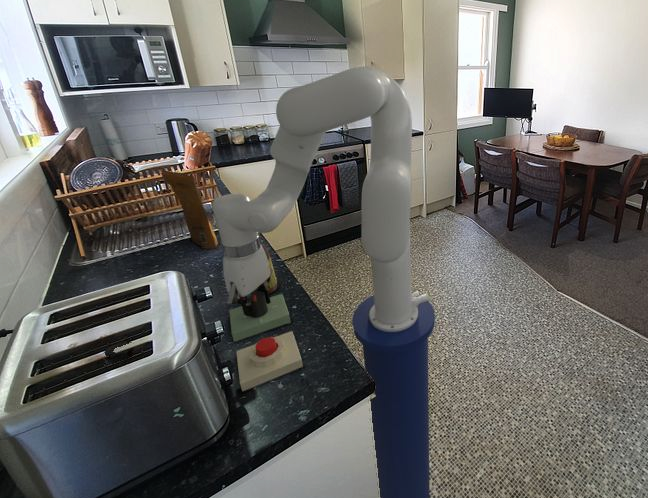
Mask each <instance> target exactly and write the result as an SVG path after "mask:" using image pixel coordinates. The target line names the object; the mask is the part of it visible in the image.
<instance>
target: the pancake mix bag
mask: <svg viewBox="0 0 648 498" xmlns="http://www.w3.org/2000/svg"><path fill="white" fill-rule="evenodd" d="M160 174H161V178H163V180H164V181H165V182H166V183H167V184H168V186H169V187H170V189H171V190H172V192H173V193H174V195H175V197H176V198H177V200H178V202H179V204H180V206H181V208H182V209H181V210H182V213H183V216H184V220H185V223H186V226H187V229H188V232H189V235H190V238H191V241H192V243H194V244H196V245H198V246H199V247H201V248H203V249H204V250H212V249H217V248H218V247H217V246H218V245H219V242H218V239H217V236H216V234H215V231H214V228H213V227H212V222H211V221H210V218H209V216H208V214H207V211H206V208H205V206H204V204H203V200H202V198H201V195H200V192H199V189H198V186H197V184H196V179H195V178H196V177H194V176H193V175H191V174H188V173H183V172H178V171H170V170H166V169H163V170H161V172H160Z"/></svg>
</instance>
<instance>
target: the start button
mask: <svg viewBox="0 0 648 498" xmlns="http://www.w3.org/2000/svg"><path fill="white" fill-rule="evenodd" d="M272 337H273V336H270V337H269V336H268V337H264V338H261V339H260V340H258V342H256V343H257V344H256V343H255V344H256V351H257V355H258V356H260V357H267V356H270V355H271V354H273V353H274V352H275V351H276V349H277V345H276V341H275V339H274V338H272Z"/></svg>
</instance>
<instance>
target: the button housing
mask: <svg viewBox="0 0 648 498" xmlns="http://www.w3.org/2000/svg"><path fill="white" fill-rule="evenodd" d="M271 337H272V338H274V339H275V341H276V345H277V349H276V351H275V352H274V353H273V354H271V355H270V356H267V357H260V356H258V355H257V351H256V344H257V343H258V342H256V343H255V344H252V345H249V346H247V347H243V348H241V349H238V350H236V351H235V353H236V361H237V368H238V369H237V371H238V378H239V385H240V389H241V392H245V391H247V390H250V389H253V388H255V387H257V386H260V385H262V384H264V383H267V382H269V381H271V380H274V379H276V378H279V377H281V376H283V375H286V374H288V373H291V372H294V371H295V370H296V371H297V370H299V369H300V368H303V367H304V363H303V360H302V356H301V354H300V350H299V347H298V344H297V341H296V338H295V335H294V332H293V331H292V330H291V331H288V332H285V333H283V334H279V335H277V336H271Z"/></svg>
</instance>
